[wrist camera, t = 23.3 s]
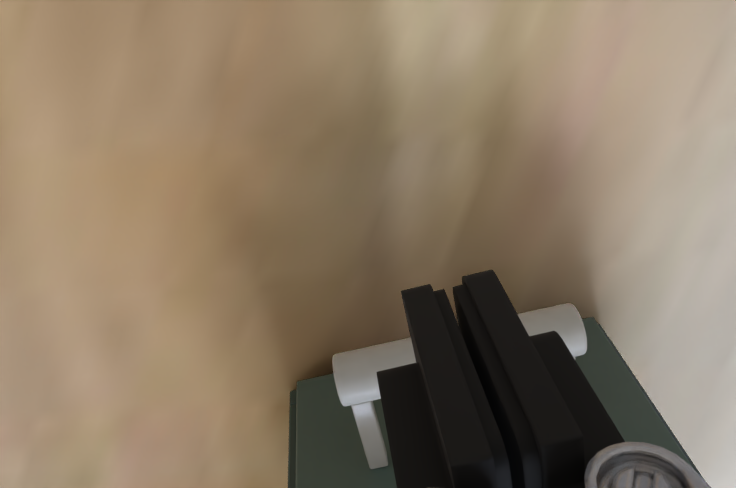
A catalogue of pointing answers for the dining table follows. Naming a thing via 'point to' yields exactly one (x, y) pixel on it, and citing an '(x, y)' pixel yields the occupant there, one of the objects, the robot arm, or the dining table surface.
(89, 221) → the dining table surface
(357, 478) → the drawer
